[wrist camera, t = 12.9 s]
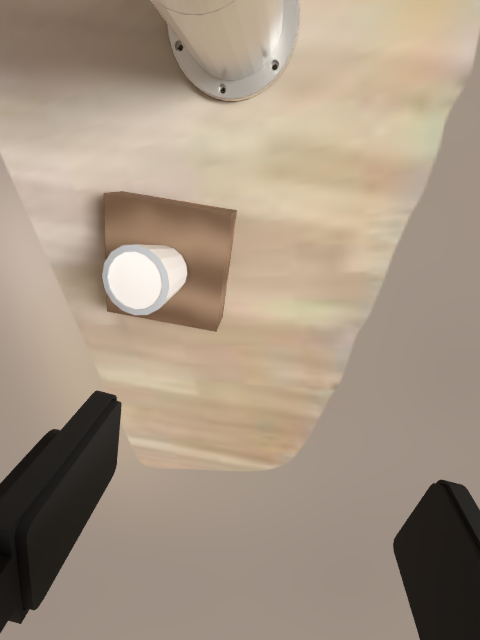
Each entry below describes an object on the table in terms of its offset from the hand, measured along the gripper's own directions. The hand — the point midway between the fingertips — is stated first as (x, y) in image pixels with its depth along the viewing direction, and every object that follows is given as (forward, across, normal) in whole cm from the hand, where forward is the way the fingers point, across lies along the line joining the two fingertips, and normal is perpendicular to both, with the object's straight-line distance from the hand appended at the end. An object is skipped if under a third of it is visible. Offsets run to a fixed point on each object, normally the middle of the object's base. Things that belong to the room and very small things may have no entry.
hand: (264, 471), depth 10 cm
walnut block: (+34, +12, +4) cm, 36 cm away
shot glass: (+28, +12, +5) cm, 31 cm away
